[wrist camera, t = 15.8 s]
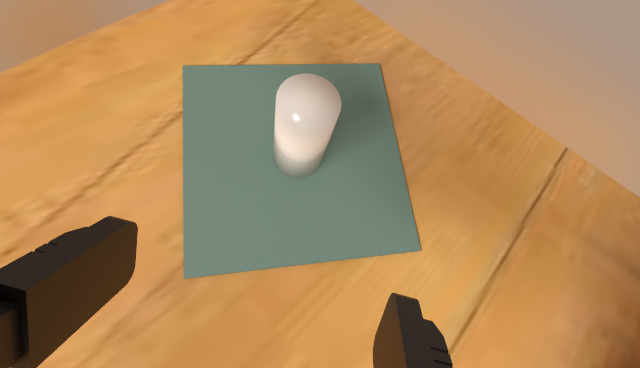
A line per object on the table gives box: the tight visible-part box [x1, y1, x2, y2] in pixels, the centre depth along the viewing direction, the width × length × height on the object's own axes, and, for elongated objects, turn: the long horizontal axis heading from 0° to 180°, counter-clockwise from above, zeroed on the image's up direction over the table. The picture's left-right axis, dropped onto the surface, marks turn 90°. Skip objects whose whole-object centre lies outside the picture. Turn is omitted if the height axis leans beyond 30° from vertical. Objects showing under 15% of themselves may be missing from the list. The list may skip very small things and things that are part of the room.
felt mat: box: [183, 64, 421, 279], centre depth 32 cm, size 20×20×1 cm
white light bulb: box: [273, 73, 341, 178], centre depth 28 cm, size 4×4×9 cm
